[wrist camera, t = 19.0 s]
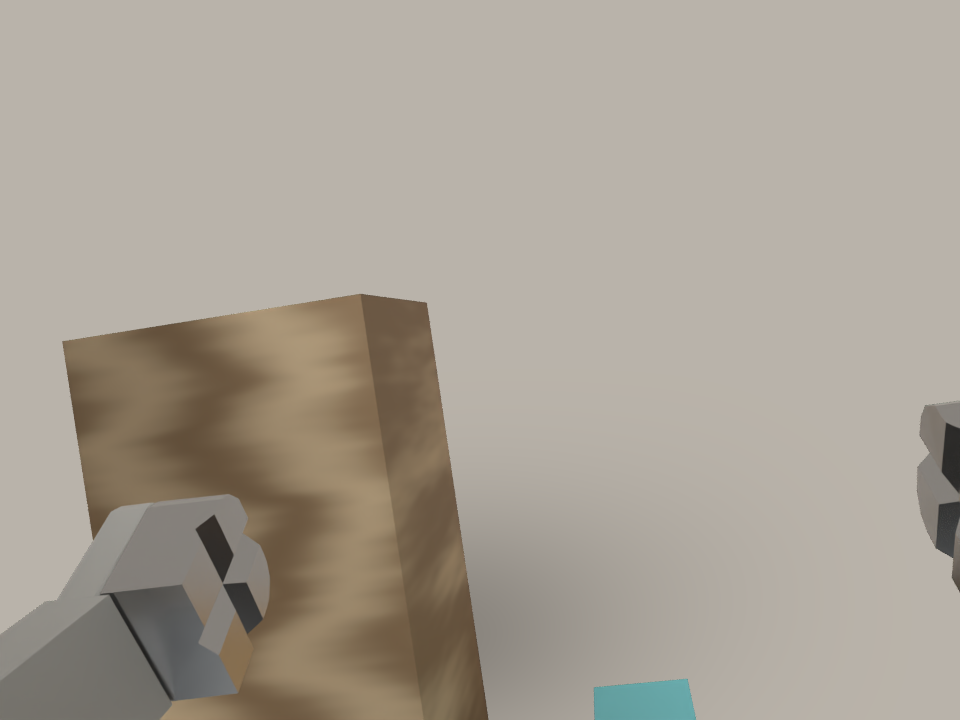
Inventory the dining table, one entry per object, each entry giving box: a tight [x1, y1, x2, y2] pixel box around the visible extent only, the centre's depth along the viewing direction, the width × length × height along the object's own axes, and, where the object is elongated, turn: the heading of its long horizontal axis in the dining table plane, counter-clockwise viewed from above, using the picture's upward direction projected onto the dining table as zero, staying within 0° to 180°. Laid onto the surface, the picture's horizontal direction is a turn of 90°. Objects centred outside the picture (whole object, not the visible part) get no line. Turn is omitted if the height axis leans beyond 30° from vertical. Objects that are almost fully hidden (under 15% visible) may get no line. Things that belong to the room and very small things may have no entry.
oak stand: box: [63, 294, 488, 720], centre depth 40 cm, size 12×12×26 cm
